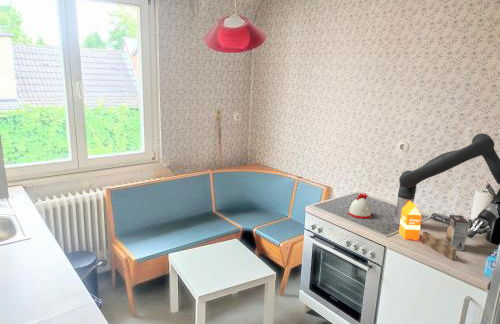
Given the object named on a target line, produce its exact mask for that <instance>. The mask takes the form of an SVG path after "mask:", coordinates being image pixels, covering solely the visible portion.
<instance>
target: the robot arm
mask: <svg viewBox="0 0 500 324" xmlns="http://www.w3.org/2000/svg"><path fill="white" fill-rule="evenodd" d="M481 156H482V158H483V159H484V161H485V163H486V165H487V167H488V169H489V171H490V173H491V175H492V177H493V178H494V180H495V182H496V183H497V184H498V185H499V186H500V157H499V154H497V151H496V150H495V142H494V140H493V138H492V137H491V136H490V135H489V134H486V133H483V132H482V133H476V135H474V136H473V138H472V140H471V143H470V144H468V145H467V146H464V147H463V148H460V149H456V150H451V151H446V152H444V153H442V154H440V155H437V156H436V157H434V158H432V159H429V160H428V161H427V162H426V163H425V164H423V165H422V166H420V167H418V168H416V169H414V170H405V171H403V172H402V173H401V175H400V176H399V178H398V179H399V180H398V182H399V188H398V191H397V199H396V201H397V202H396V206H395V207H394V208H395V209H394V215H393V217H394V218H393V222H394V223H395V225H398V226H400V220H401V213H402V208H403V207H404V206H405V205H406V204H407V203H408V202H409V201H411V202H412V203H414V204H415V197H416V190H417V186H418V184H419V183H421V182H423V181H425V180H427V179H430V178H433V177H435V176H437V175H439V174H442V173H445V172H447V171H449V170H451V169H453V168H455V167H457V166H460V165H462V164H463V163H465V162H467V161H470V160H472V159H475V158H478V157H481ZM495 201H500V188H499V189H498V190H497V192H496V194H495V197H494V198H493V199H492V200H491V202H489V203H488V204H487V205H486V206H485V207H484V208H483V209H482V210H481V211H480V213H479V214H478V215H477V216H476V217H475V218H474V219H471V218H469V219H468V222H469V223H468V229H469V231H467V233H466V237H467V238H469V239H472V238H474V237H475V235H483V234H486V233H490V232H491V231H492V229H491V228H490V227H491V225H493V224H494V222H496V221H497V220H498V219H499V217H500V216H499V215H498V211H497V208H496V202H495Z"/></svg>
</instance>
